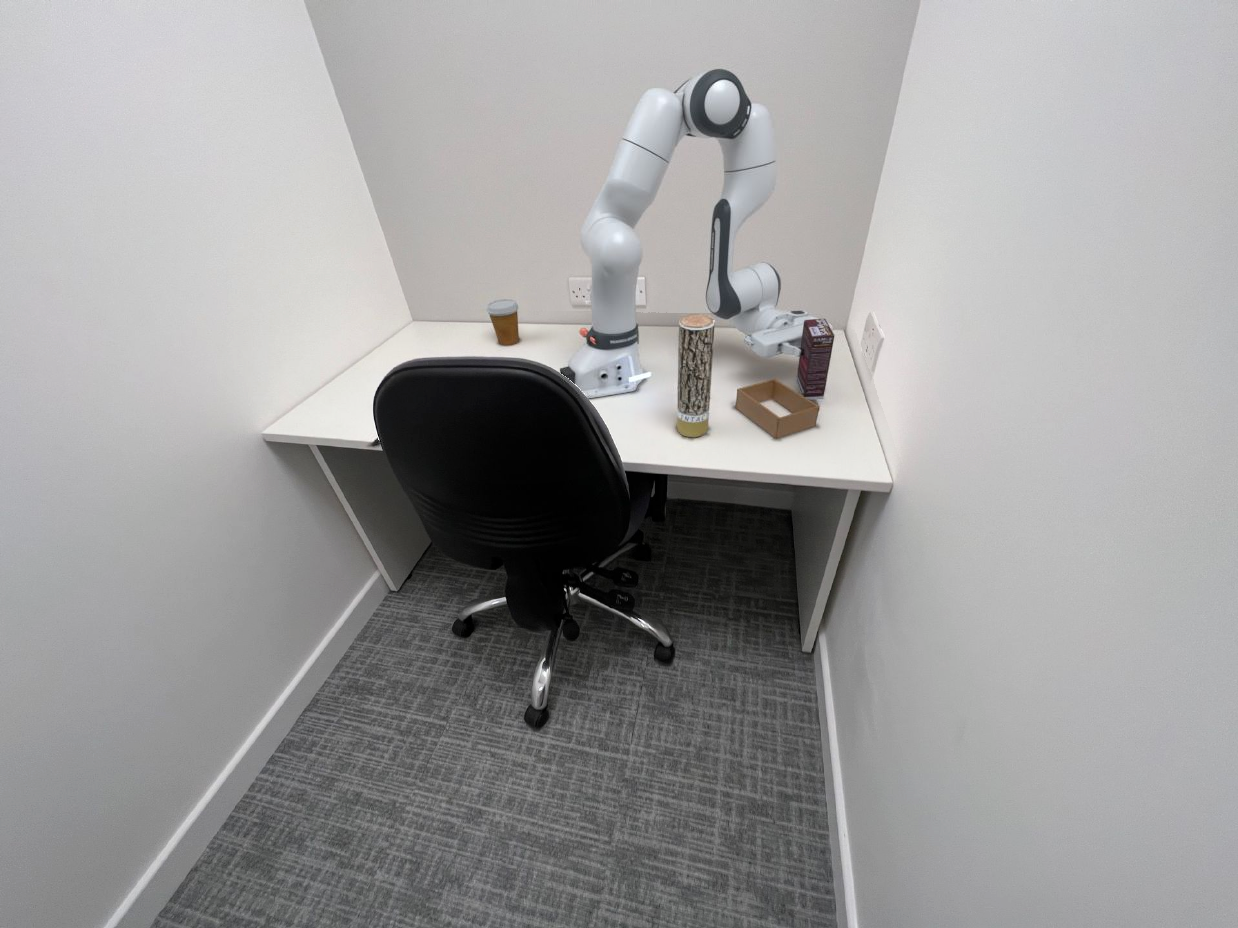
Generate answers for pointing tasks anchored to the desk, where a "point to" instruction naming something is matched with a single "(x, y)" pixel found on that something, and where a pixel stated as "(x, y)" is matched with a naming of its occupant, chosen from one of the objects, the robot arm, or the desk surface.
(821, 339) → the supplement box
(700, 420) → the paper tube
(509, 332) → the disposable coffee cup
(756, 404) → the cardboard box
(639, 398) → the desk surface
